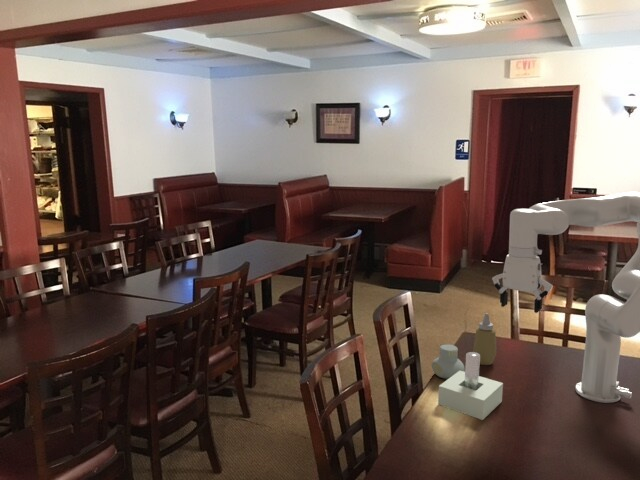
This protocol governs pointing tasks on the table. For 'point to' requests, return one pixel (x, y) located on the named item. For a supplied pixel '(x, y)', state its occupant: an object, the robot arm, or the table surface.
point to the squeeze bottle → (485, 341)
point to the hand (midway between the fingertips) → (520, 308)
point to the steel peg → (472, 370)
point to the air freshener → (447, 362)
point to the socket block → (470, 395)
